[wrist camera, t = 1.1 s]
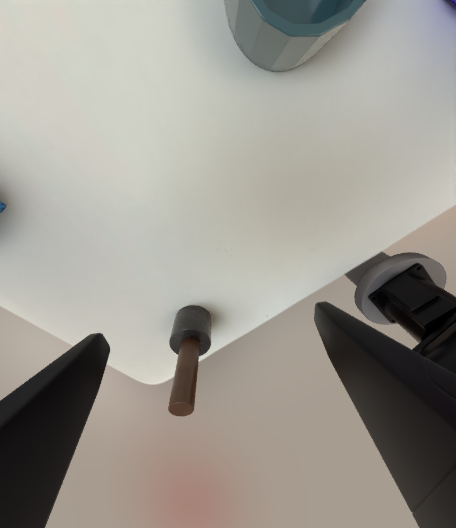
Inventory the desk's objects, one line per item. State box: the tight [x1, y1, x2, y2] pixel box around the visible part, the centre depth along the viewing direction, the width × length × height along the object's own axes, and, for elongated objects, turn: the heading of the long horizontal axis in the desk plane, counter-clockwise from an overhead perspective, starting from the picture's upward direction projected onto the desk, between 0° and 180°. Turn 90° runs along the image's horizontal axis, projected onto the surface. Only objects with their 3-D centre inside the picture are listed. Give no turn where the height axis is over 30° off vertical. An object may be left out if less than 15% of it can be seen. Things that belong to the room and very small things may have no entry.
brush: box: [168, 306, 212, 416], centre depth 23 cm, size 5×5×11 cm
